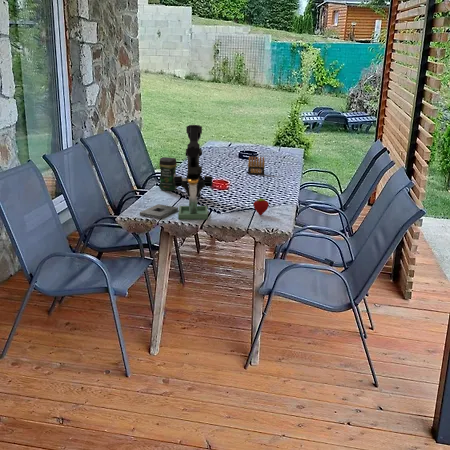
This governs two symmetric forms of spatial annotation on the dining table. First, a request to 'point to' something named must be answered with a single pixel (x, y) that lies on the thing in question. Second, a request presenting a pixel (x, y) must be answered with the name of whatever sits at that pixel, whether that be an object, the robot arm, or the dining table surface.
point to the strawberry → (261, 206)
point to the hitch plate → (153, 210)
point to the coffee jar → (167, 173)
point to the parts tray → (201, 213)
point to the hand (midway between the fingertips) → (193, 196)
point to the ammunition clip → (256, 166)
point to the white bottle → (193, 195)
